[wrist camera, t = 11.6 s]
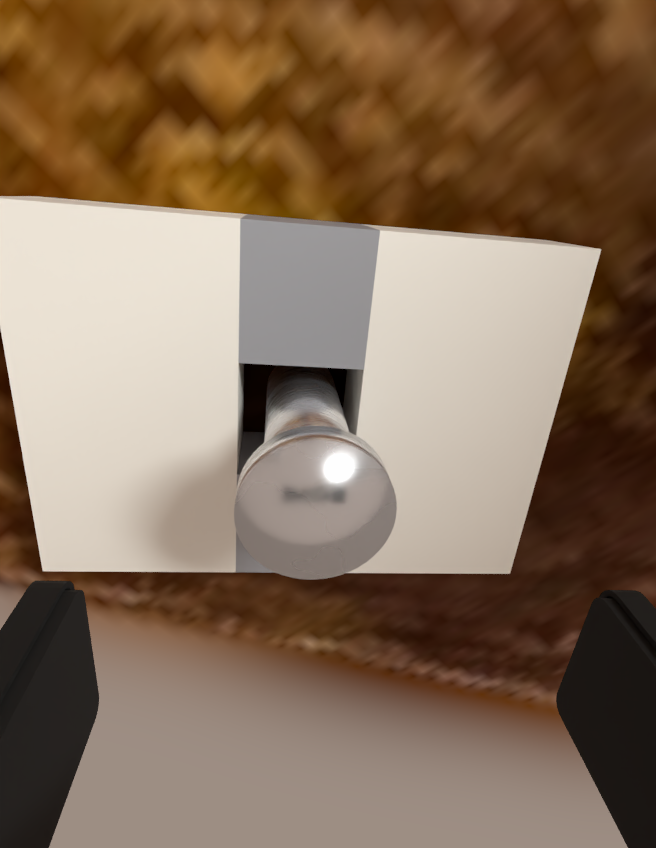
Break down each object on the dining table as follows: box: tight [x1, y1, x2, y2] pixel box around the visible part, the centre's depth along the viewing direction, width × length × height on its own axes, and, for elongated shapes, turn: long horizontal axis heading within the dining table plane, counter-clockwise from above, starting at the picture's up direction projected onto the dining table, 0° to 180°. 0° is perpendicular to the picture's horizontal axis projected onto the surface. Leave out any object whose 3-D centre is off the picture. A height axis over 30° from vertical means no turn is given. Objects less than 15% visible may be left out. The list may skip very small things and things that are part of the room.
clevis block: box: [0, 196, 601, 574], centre depth 21 cm, size 20×14×4 cm
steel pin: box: [234, 365, 397, 580], centre depth 18 cm, size 4×4×10 cm
